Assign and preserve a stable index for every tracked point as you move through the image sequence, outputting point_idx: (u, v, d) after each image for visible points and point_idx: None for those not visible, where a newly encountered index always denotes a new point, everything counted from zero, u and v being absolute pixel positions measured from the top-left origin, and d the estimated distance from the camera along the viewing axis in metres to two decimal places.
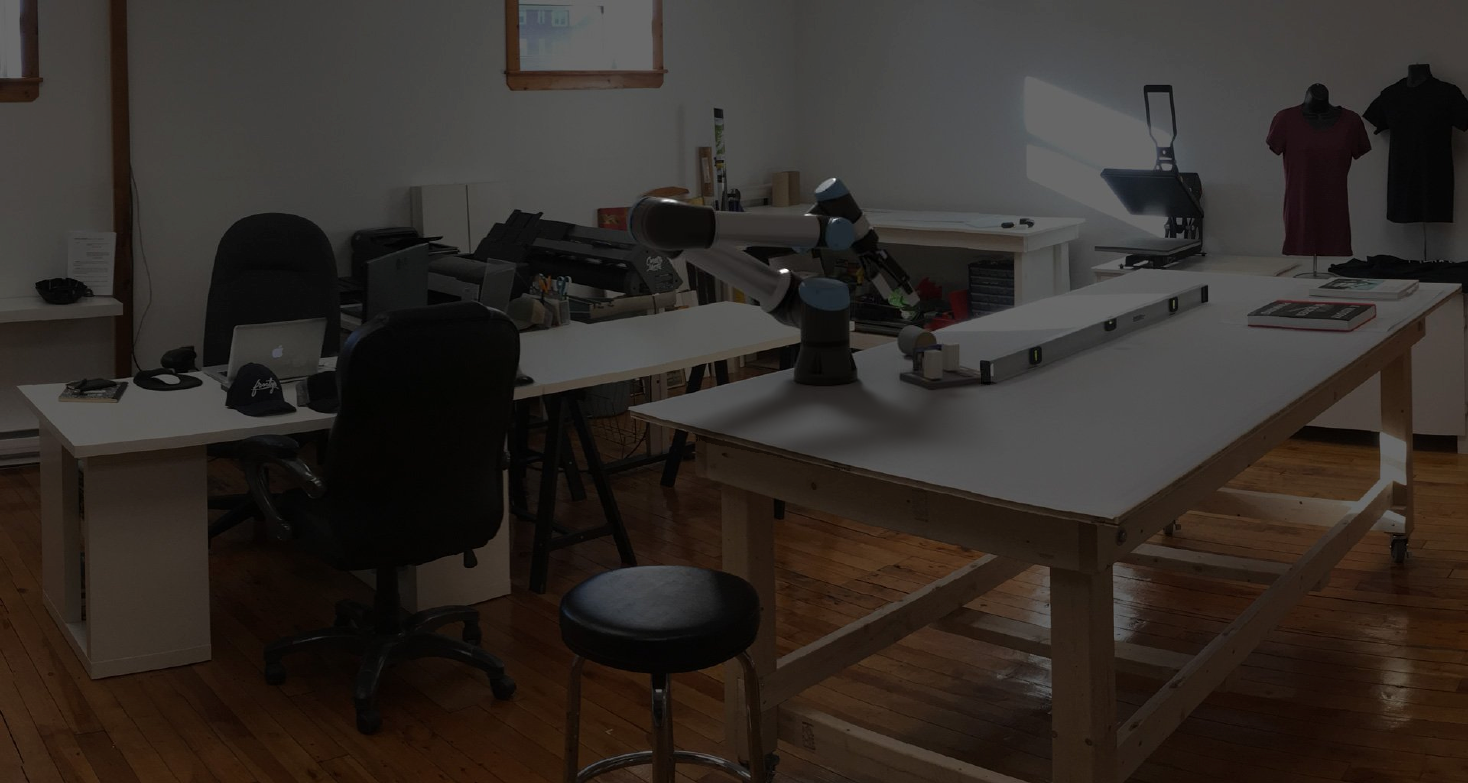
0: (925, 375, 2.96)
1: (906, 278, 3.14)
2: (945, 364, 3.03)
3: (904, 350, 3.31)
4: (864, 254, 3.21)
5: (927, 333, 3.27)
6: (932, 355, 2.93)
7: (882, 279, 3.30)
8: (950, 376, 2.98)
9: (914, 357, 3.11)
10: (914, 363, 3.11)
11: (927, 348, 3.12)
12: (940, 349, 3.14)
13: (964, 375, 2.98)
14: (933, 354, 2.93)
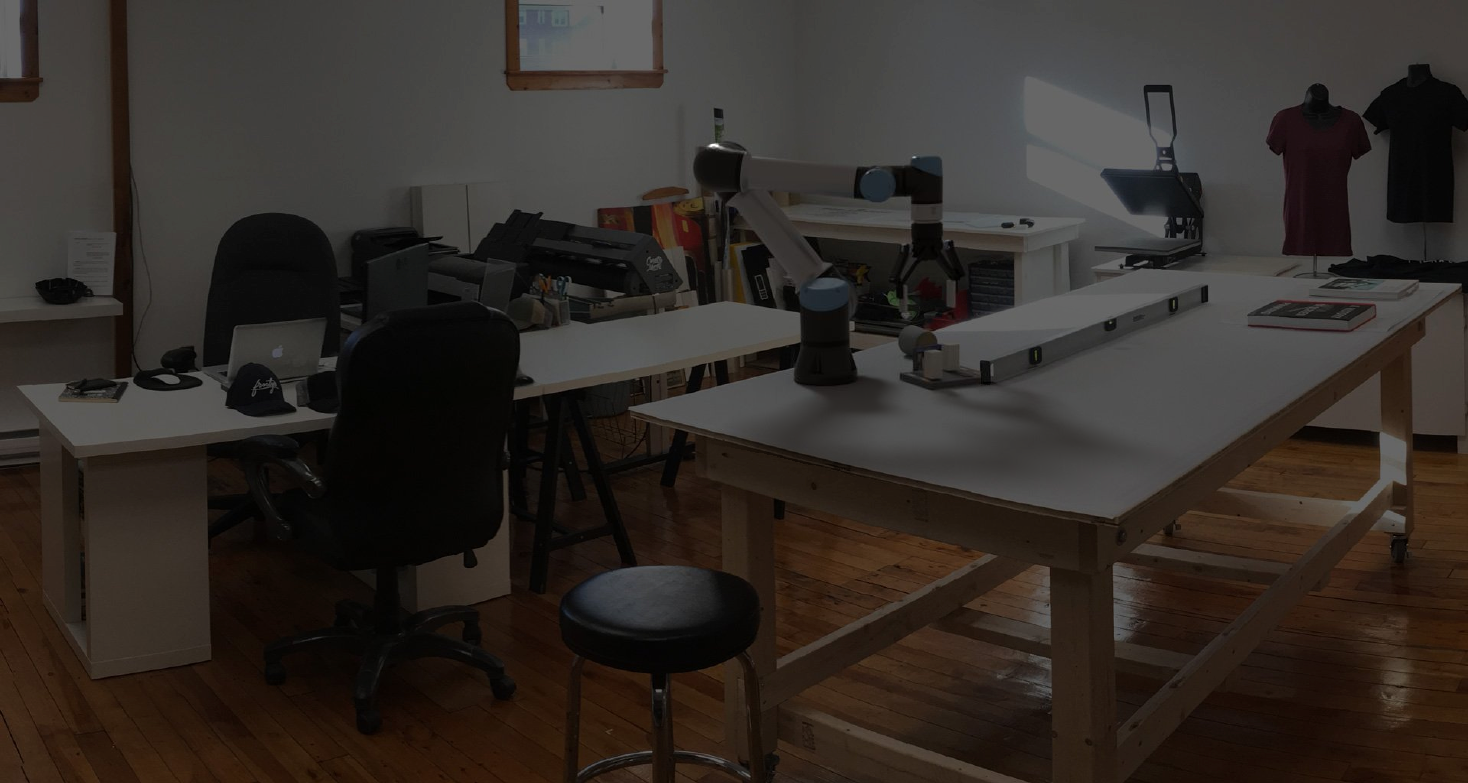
0: (925, 375, 2.96)
1: (892, 279, 3.05)
2: (945, 364, 3.03)
3: (905, 350, 3.31)
4: None
5: (928, 333, 3.27)
6: (932, 355, 2.93)
7: (951, 287, 3.12)
8: (950, 376, 2.98)
9: (914, 357, 3.11)
10: (914, 363, 3.11)
11: (927, 348, 3.12)
12: (940, 349, 3.14)
13: (964, 375, 2.98)
14: (933, 354, 2.93)
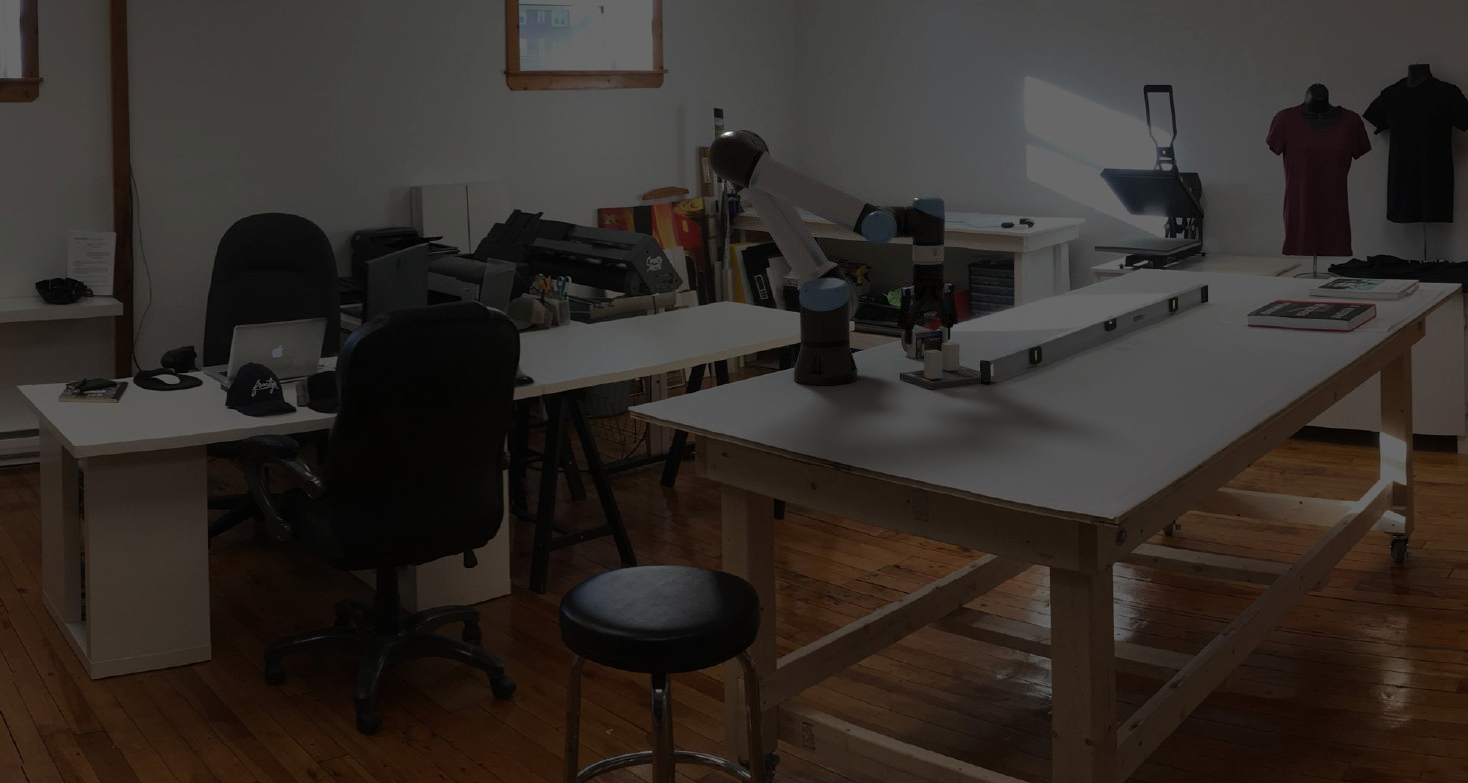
0: (925, 375, 2.96)
1: (900, 325, 3.08)
2: (945, 364, 3.03)
3: None
4: None
5: None
6: (932, 355, 2.93)
7: (944, 334, 3.13)
8: (950, 376, 2.98)
9: None
10: None
11: (927, 334, 3.11)
12: (940, 335, 3.14)
13: (964, 375, 2.98)
14: (933, 354, 2.93)
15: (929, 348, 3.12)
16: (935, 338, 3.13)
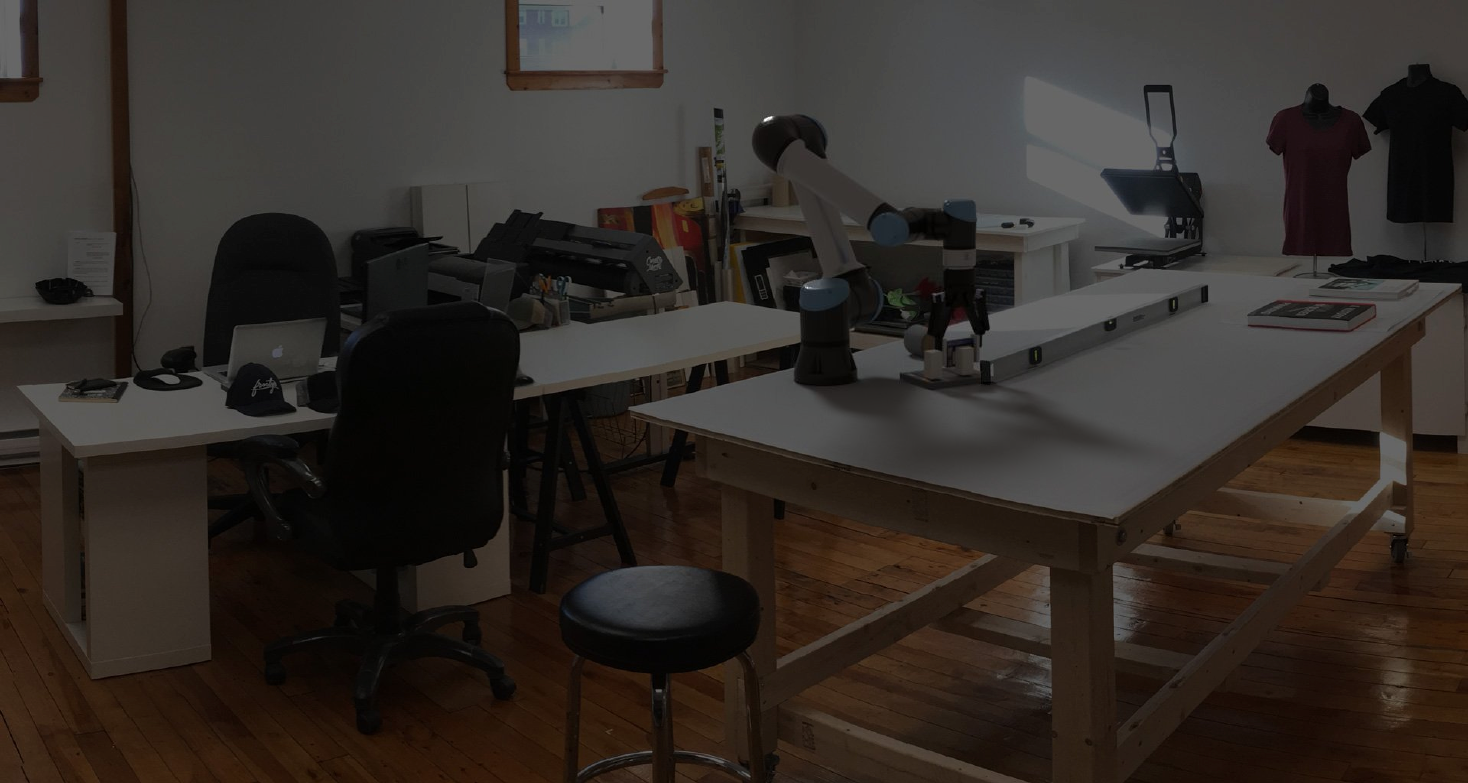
0: (925, 375, 2.96)
1: (931, 333, 2.96)
2: (959, 368, 2.98)
3: (910, 349, 3.32)
4: None
5: None
6: (932, 355, 2.93)
7: (975, 342, 3.01)
8: (950, 376, 2.98)
9: None
10: None
11: (958, 342, 2.99)
12: (971, 343, 3.01)
13: (964, 375, 2.98)
14: (933, 354, 2.93)
15: None
16: None
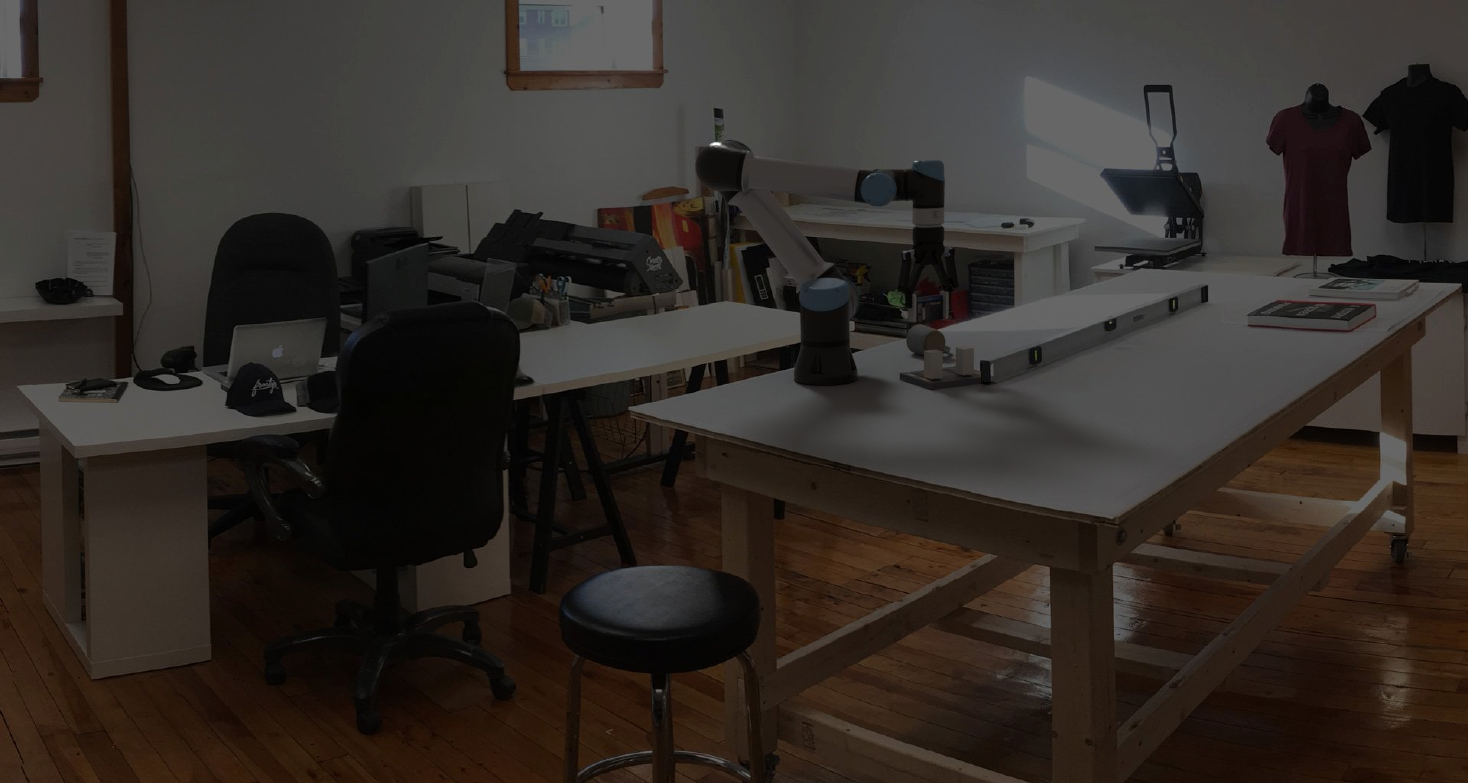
0: (925, 375, 2.96)
1: (901, 289, 3.06)
2: (960, 368, 2.98)
3: (913, 349, 3.33)
4: None
5: (936, 332, 3.28)
6: (932, 355, 2.93)
7: (945, 298, 3.11)
8: (950, 376, 2.98)
9: None
10: None
11: (927, 298, 3.09)
12: (940, 300, 3.12)
13: (964, 375, 2.98)
14: (933, 354, 2.93)
15: (930, 312, 3.10)
16: (936, 302, 3.11)
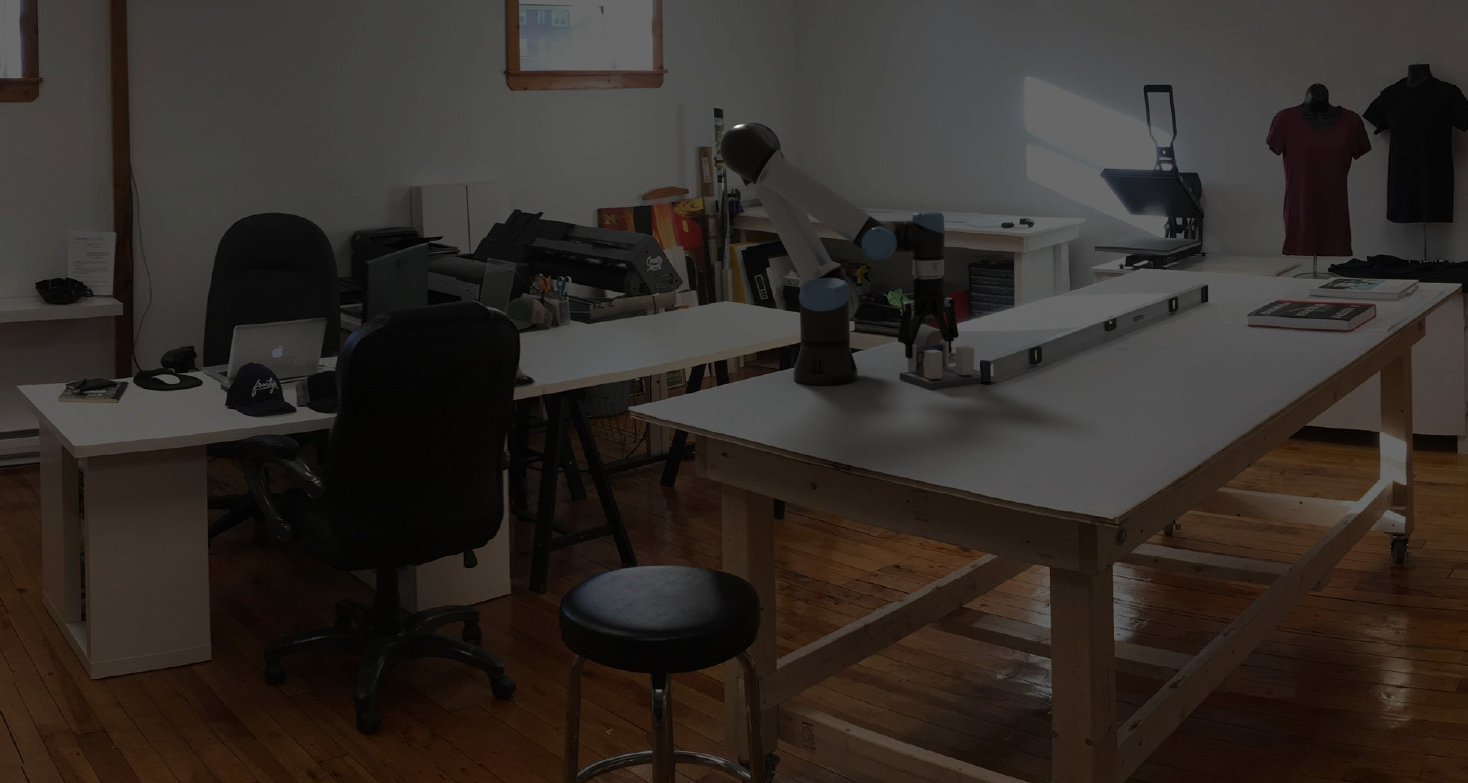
0: (925, 375, 2.96)
1: (901, 340, 3.09)
2: (960, 368, 2.98)
3: None
4: None
5: (938, 332, 3.28)
6: (932, 355, 2.93)
7: (945, 348, 3.14)
8: (950, 376, 2.98)
9: None
10: None
11: (928, 348, 3.12)
12: (941, 349, 3.14)
13: (964, 375, 2.98)
14: (933, 354, 2.93)
15: None
16: None
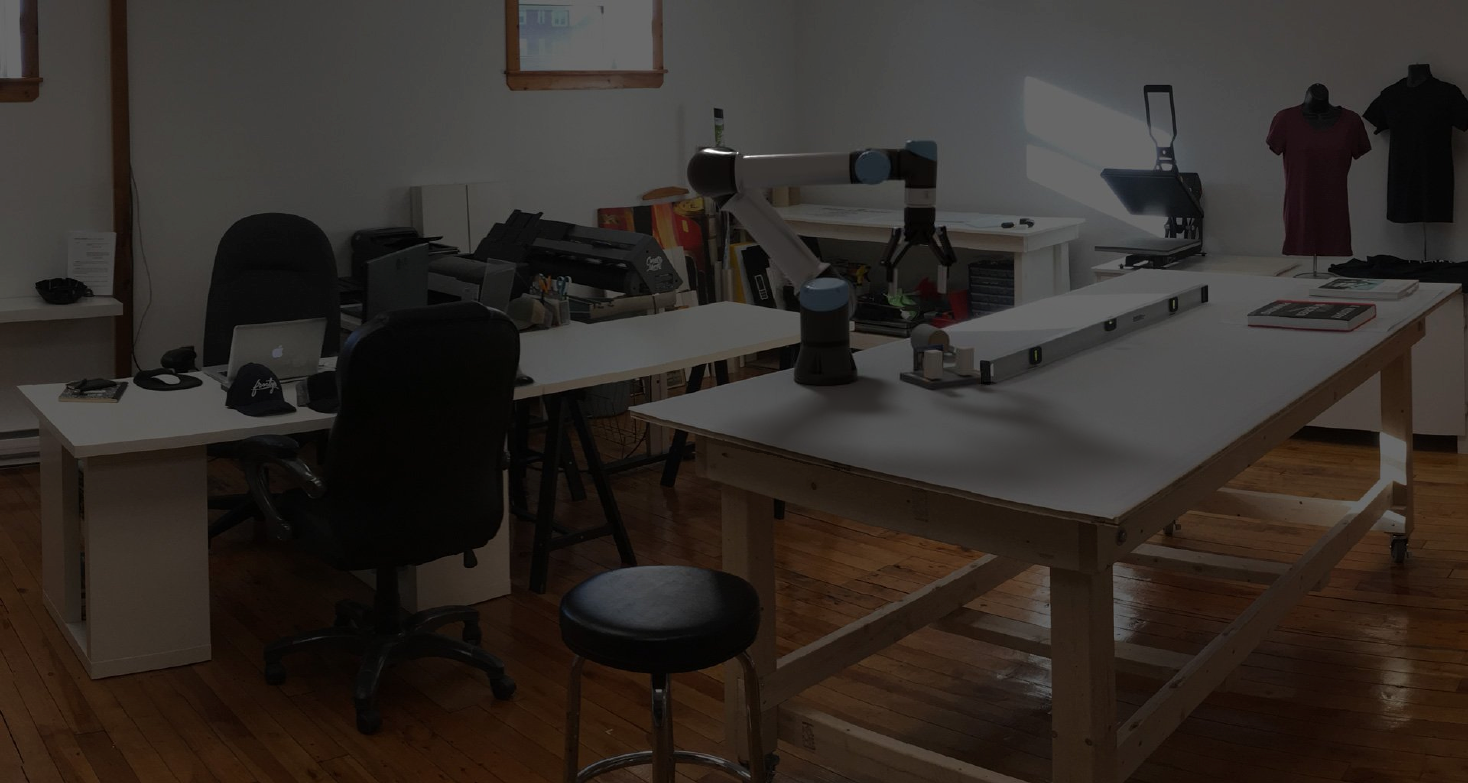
0: (925, 375, 2.96)
1: (882, 262, 3.05)
2: (960, 368, 2.98)
3: None
4: None
5: (940, 331, 3.29)
6: (932, 355, 2.93)
7: (943, 273, 3.12)
8: (950, 376, 2.98)
9: (914, 357, 3.11)
10: (915, 363, 3.11)
11: (928, 348, 3.12)
12: (941, 349, 3.14)
13: (964, 375, 2.98)
14: (933, 354, 2.93)
15: None
16: None
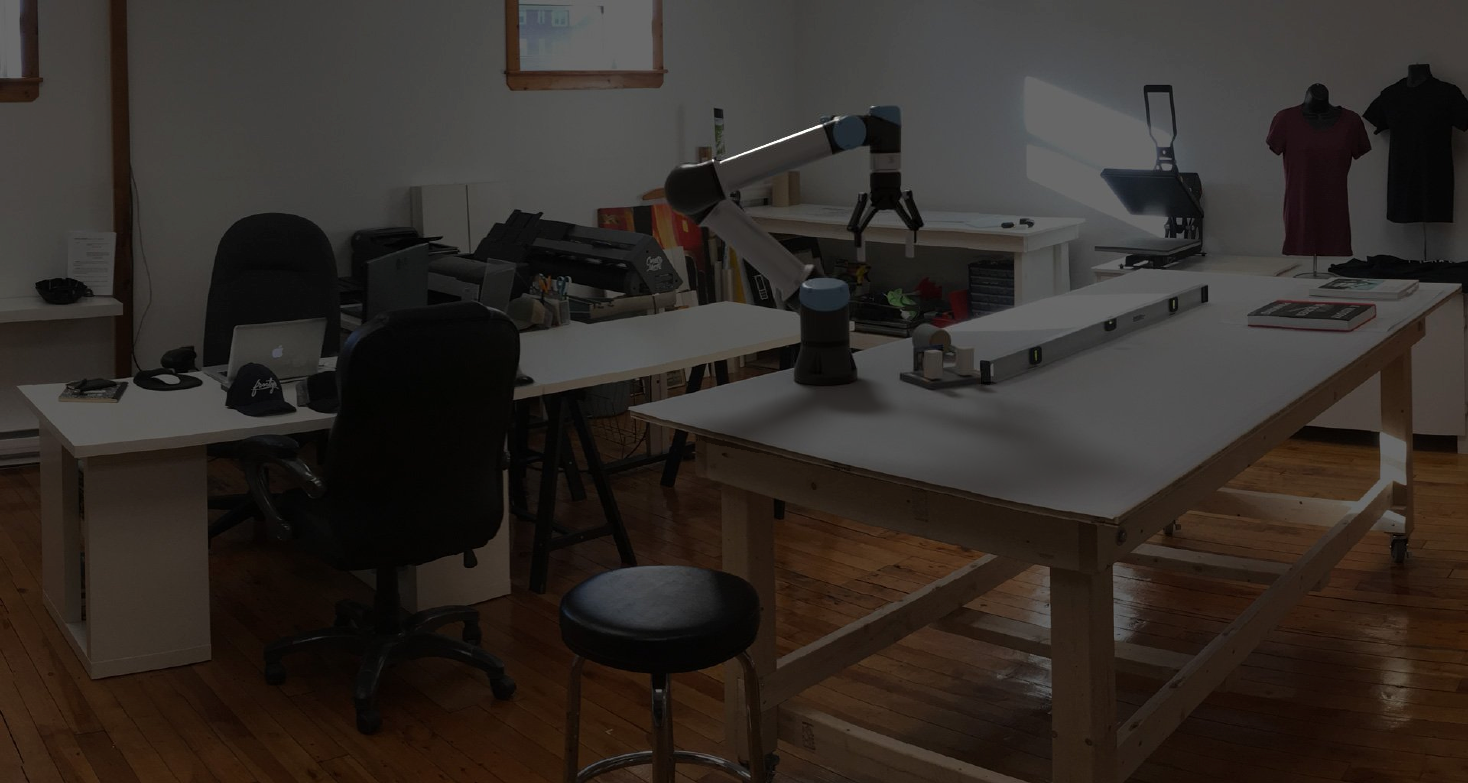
0: (925, 375, 2.96)
1: (850, 228, 3.08)
2: (960, 368, 2.98)
3: None
4: None
5: (942, 331, 3.29)
6: (932, 355, 2.93)
7: (910, 237, 3.15)
8: (950, 376, 2.98)
9: (914, 357, 3.11)
10: (915, 363, 3.11)
11: (928, 348, 3.12)
12: (941, 349, 3.14)
13: (964, 375, 2.98)
14: (933, 354, 2.93)
15: None
16: None
